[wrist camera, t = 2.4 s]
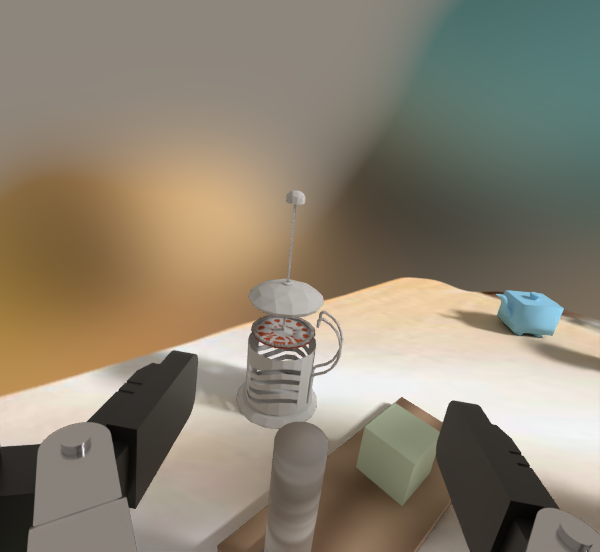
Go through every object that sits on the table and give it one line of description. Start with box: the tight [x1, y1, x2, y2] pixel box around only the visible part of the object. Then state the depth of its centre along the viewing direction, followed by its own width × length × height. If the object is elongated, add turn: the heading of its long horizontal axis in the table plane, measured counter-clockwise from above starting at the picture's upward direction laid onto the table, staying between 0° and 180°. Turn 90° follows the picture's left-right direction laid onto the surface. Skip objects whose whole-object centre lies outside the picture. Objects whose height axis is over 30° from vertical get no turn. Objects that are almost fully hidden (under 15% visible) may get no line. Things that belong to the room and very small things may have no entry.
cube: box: [356, 403, 440, 506], centre depth 33 cm, size 5×5×5 cm
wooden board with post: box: [218, 397, 452, 552], centre depth 30 cm, size 10×26×14 cm, turn 134°
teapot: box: [496, 290, 563, 338], centre depth 66 cm, size 12×6×8 cm, turn 89°
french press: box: [236, 190, 343, 429], centre depth 39 cm, size 10×12×25 cm
